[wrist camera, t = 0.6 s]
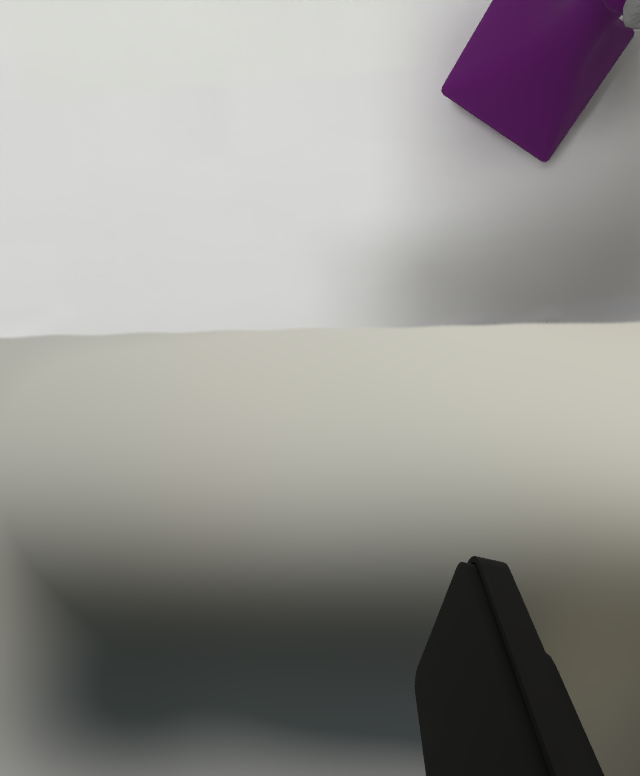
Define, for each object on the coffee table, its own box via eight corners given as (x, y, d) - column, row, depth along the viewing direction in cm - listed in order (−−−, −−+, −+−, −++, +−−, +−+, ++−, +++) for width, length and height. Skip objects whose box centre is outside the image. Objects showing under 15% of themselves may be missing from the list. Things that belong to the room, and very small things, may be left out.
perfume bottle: (505, -26, 29) (718, -340, 12) (607, 49, 30) (935, -148, 13) (430, 102, 32) (522, -14, 15) (527, 167, 32) (718, 129, 16)
